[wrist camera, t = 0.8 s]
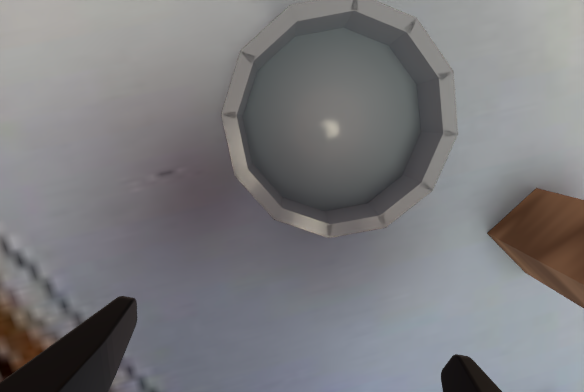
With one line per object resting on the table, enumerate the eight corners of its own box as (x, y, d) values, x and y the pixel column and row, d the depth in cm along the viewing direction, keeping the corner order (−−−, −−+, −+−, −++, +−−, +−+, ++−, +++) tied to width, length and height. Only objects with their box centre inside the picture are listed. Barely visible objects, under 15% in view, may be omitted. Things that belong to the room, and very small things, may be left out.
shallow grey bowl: (434, 199, 23) (463, 213, 19) (256, 231, 23) (251, 252, 19) (416, 2, 20) (446, -25, 17) (215, 40, 20) (200, 21, 17)
